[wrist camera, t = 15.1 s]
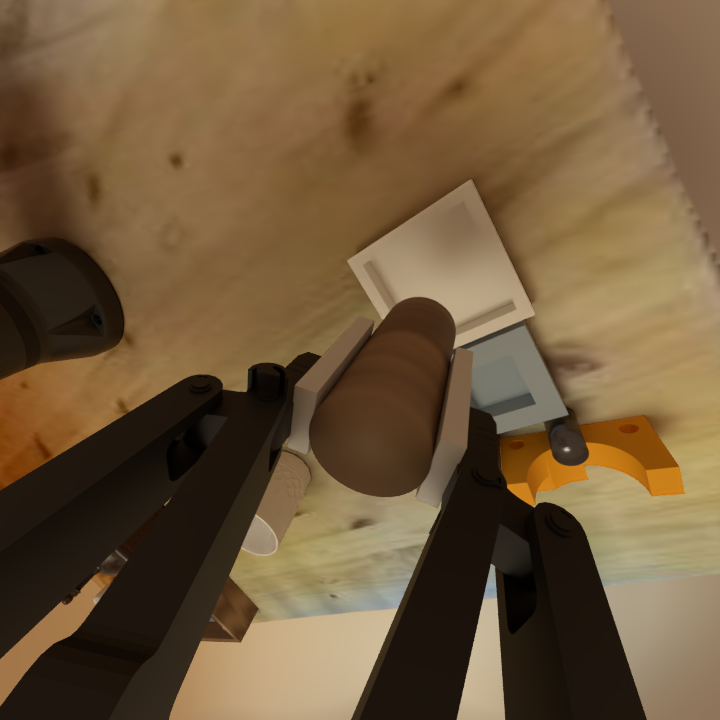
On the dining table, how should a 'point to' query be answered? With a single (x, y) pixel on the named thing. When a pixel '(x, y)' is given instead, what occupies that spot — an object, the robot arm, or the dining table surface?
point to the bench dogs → (563, 441)
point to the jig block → (512, 379)
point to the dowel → (388, 403)
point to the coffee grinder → (117, 556)
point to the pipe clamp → (592, 459)
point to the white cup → (277, 505)
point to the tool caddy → (230, 615)
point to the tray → (447, 266)
